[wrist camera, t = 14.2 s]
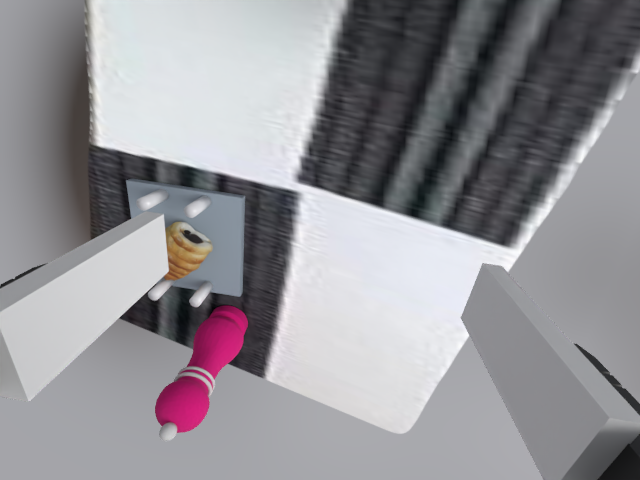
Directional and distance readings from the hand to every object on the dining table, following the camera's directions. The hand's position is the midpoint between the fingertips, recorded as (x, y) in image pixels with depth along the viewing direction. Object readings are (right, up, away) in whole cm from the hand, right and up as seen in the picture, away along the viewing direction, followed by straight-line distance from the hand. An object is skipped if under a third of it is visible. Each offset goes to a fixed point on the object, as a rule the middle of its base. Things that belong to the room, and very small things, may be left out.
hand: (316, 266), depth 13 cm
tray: (-19, +1, +33) cm, 38 cm away
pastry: (-19, 0, +32) cm, 38 cm away
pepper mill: (-15, -12, +39) cm, 43 cm away
